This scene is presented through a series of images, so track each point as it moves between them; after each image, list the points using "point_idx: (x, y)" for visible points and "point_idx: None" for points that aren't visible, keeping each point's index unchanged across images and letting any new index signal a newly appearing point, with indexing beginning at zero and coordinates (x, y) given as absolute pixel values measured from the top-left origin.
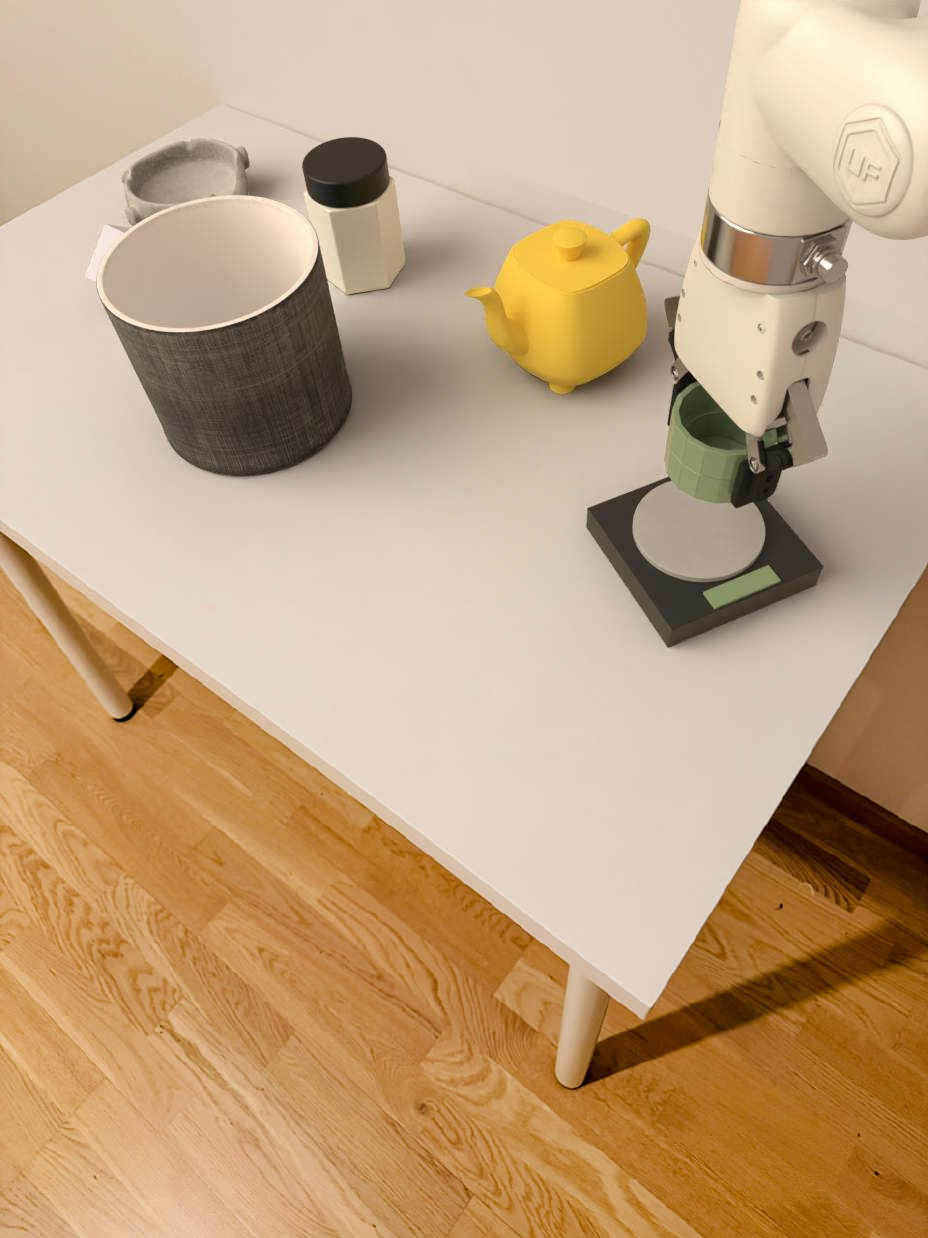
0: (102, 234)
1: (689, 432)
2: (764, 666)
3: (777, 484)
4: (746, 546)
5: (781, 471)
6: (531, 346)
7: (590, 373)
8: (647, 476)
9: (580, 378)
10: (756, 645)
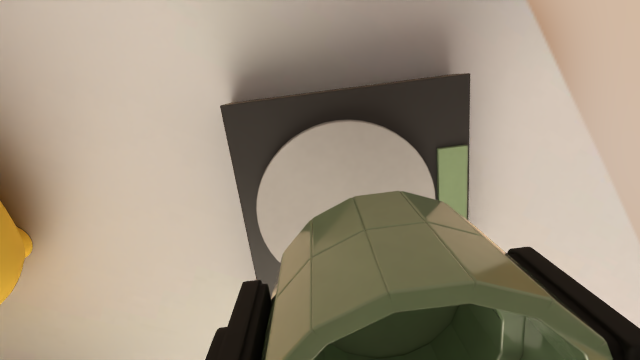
0: None
1: (316, 357)
2: (518, 186)
3: (544, 257)
4: (404, 167)
5: (578, 283)
6: None
7: (7, 247)
8: (209, 199)
9: (16, 259)
10: (491, 182)
